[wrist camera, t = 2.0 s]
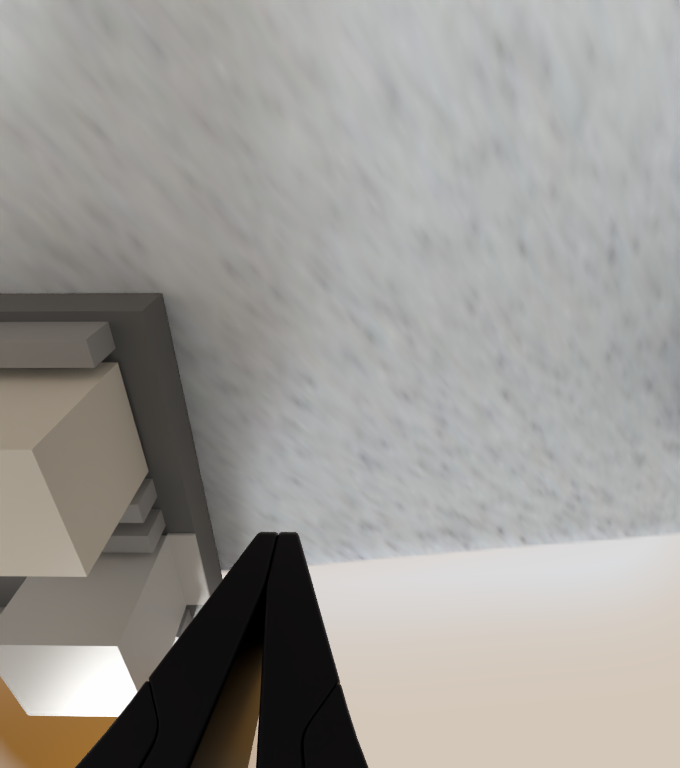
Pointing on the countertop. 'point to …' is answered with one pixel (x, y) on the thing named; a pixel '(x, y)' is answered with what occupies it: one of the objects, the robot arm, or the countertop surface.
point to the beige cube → (64, 467)
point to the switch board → (150, 412)
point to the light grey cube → (91, 634)
